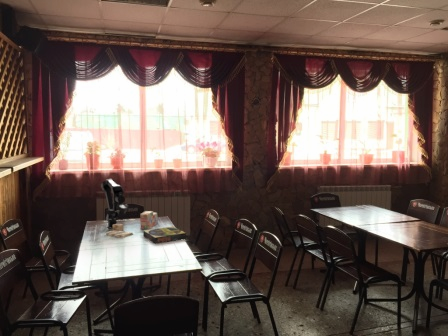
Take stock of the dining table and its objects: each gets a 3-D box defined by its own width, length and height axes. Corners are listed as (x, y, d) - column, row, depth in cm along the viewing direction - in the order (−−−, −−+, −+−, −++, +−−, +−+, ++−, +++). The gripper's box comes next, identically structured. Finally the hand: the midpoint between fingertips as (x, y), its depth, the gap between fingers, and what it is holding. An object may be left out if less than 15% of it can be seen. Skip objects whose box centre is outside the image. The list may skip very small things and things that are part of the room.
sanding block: (112, 230, 320) (112, 224, 319) (116, 229, 324) (116, 223, 323) (119, 231, 316) (119, 225, 316) (123, 230, 320) (123, 224, 320)
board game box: (186, 239, 294) (185, 232, 293) (155, 244, 282) (155, 237, 281) (172, 232, 314) (172, 226, 313) (143, 237, 302) (143, 230, 301)
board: (105, 234, 307) (105, 232, 307) (115, 231, 316) (115, 229, 316) (123, 237, 298) (123, 235, 298) (132, 234, 307) (132, 232, 307)
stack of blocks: (151, 223, 346) (150, 208, 345) (157, 223, 345) (157, 209, 344) (140, 229, 325) (140, 213, 324) (147, 229, 324) (147, 214, 323)
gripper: (116, 204, 306) (116, 224, 307) (133, 200, 322) (133, 219, 323) (105, 203, 311) (106, 222, 313) (122, 199, 327) (123, 218, 329)
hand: (117, 220), depth 319 cm, fingers open, 9 cm apart
